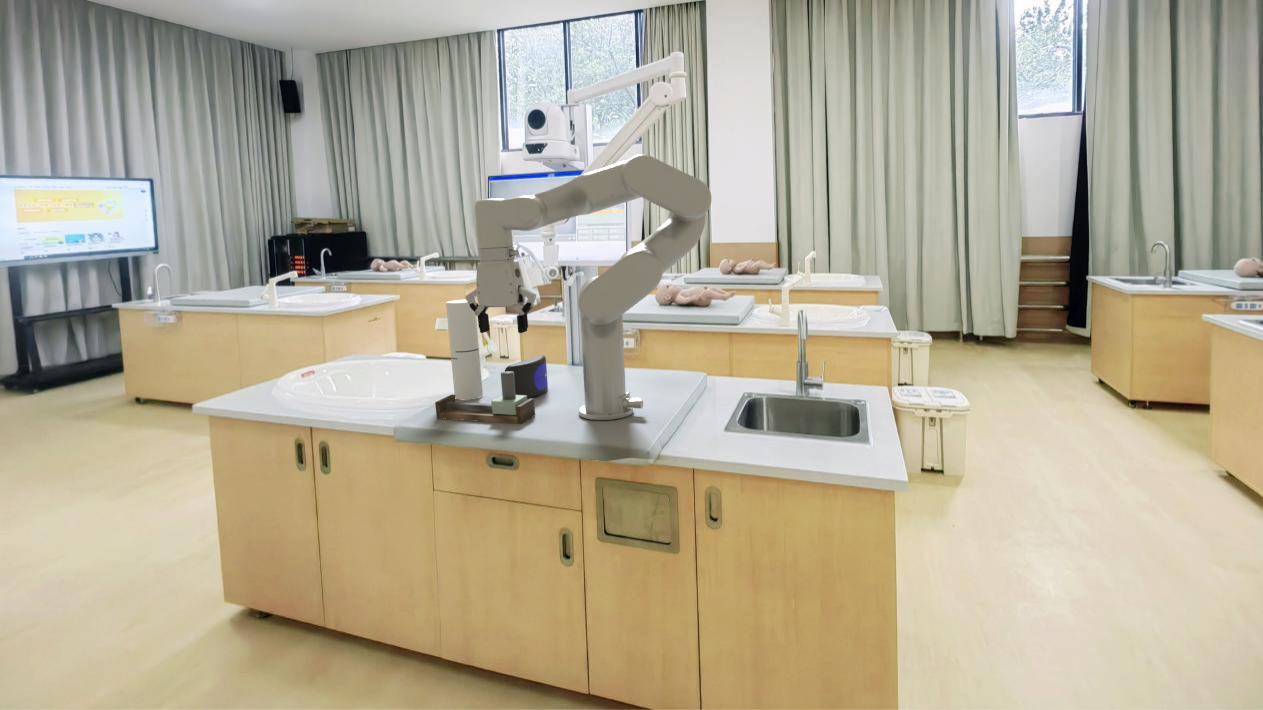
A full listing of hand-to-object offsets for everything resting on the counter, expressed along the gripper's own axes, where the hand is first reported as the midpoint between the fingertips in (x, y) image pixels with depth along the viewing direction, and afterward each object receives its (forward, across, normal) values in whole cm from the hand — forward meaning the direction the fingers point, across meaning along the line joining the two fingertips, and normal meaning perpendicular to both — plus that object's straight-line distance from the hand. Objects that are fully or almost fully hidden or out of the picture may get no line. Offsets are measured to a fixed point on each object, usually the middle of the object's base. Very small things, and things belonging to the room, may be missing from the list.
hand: (503, 332), depth 164 cm
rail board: (+20, +6, 0) cm, 21 cm away
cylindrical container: (+20, +21, -15) cm, 33 cm away
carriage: (+18, 0, 0) cm, 18 cm away
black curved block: (+20, +6, -20) cm, 29 cm away
